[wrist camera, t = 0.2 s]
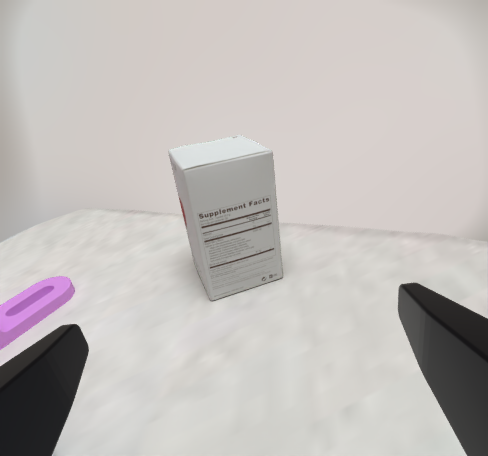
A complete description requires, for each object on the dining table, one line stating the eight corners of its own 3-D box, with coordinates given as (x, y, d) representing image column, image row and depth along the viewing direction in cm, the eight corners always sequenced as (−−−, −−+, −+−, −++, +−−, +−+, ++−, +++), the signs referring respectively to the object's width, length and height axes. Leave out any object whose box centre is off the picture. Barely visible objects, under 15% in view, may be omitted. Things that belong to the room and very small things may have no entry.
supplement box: (192, 262, 44) (165, 148, 37) (256, 244, 46) (242, 132, 39) (209, 303, 36) (179, 168, 29) (285, 279, 38) (274, 147, 31)
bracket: (-31, 373, 31) (-72, 316, 28) (-58, 356, 34) (-99, 302, 31) (84, 290, 41) (63, 241, 38) (56, 281, 44) (34, 235, 41)
